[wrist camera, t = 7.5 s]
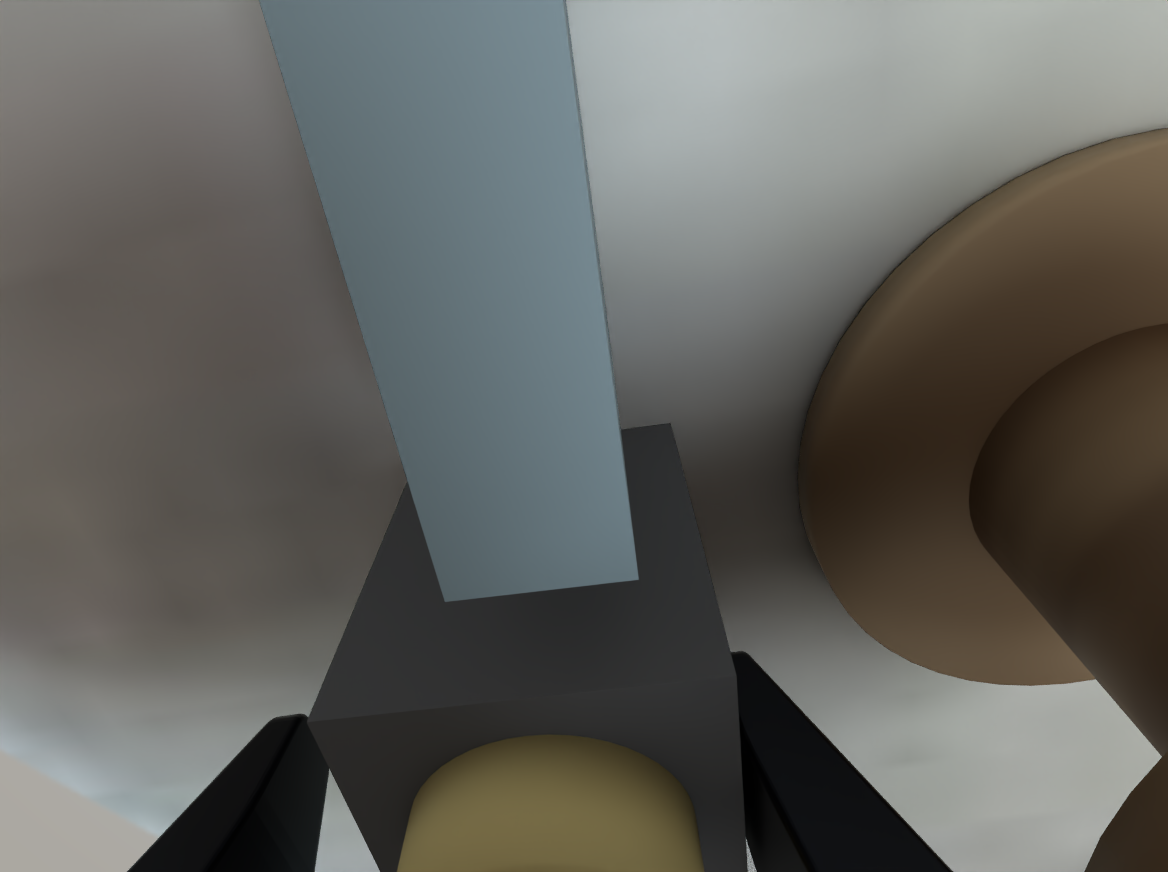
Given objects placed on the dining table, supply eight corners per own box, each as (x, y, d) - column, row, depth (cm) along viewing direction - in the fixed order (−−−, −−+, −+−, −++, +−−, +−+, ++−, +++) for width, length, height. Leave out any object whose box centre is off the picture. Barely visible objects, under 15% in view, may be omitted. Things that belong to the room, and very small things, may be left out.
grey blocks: (677, 856, 16) (714, 1160, 11) (608, 862, 16) (619, 1167, 11) (550, -121, 7) (507, -409, 3) (405, -96, 7) (156, -339, 3)
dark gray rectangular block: (670, 423, 11) (768, 800, 5) (689, 617, 12) (775, 1047, 7) (417, 456, 11) (252, 852, 5) (473, 641, 13) (393, 1076, 7)
